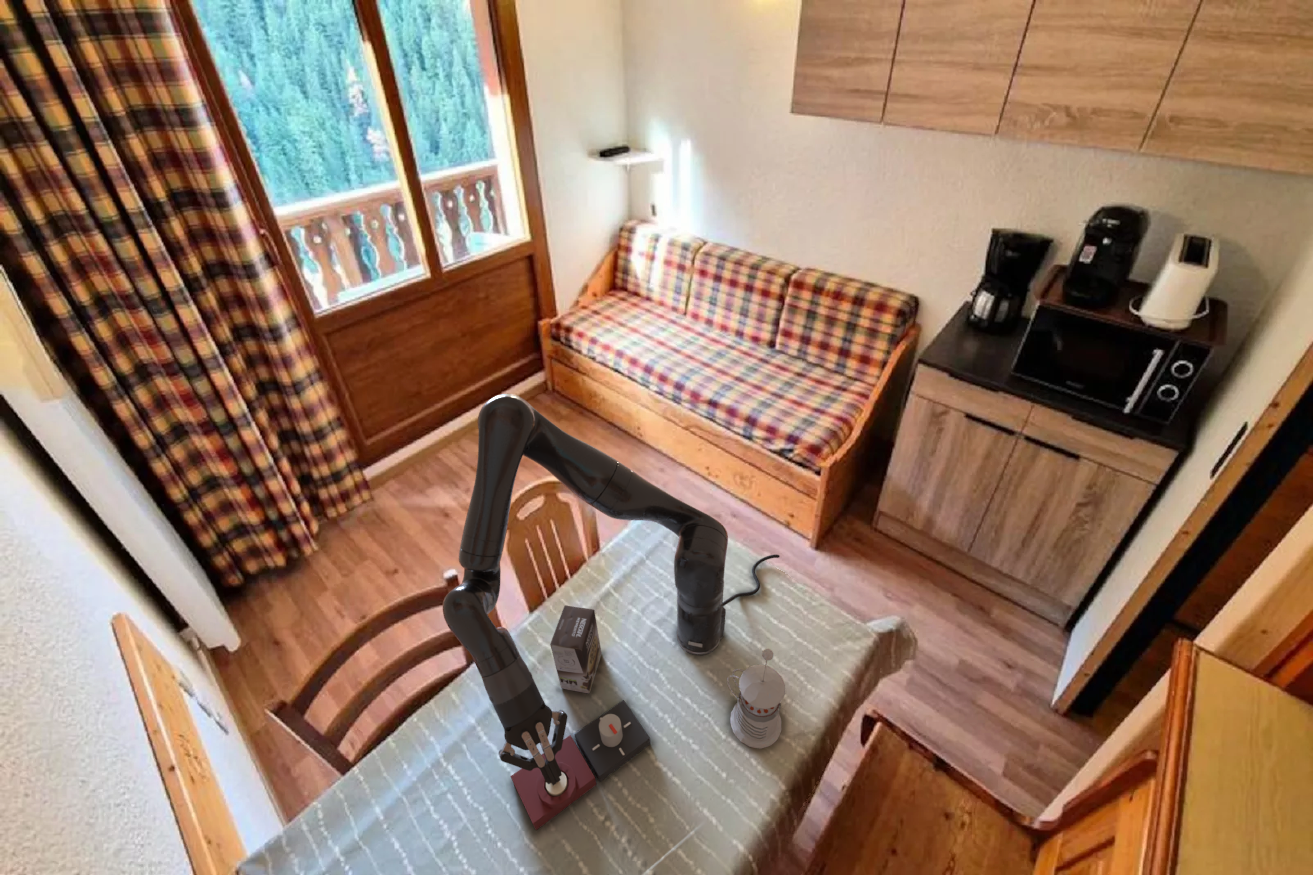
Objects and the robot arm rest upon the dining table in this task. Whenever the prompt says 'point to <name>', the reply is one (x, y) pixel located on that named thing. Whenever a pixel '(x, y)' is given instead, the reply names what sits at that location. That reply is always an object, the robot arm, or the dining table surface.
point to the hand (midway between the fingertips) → (555, 781)
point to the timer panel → (614, 757)
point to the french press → (758, 704)
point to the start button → (557, 786)
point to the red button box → (534, 784)
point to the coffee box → (576, 648)
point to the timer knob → (610, 730)
